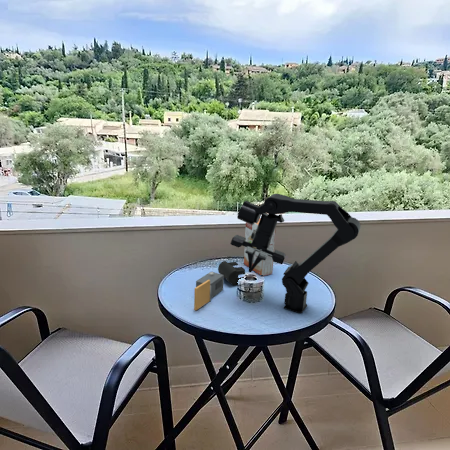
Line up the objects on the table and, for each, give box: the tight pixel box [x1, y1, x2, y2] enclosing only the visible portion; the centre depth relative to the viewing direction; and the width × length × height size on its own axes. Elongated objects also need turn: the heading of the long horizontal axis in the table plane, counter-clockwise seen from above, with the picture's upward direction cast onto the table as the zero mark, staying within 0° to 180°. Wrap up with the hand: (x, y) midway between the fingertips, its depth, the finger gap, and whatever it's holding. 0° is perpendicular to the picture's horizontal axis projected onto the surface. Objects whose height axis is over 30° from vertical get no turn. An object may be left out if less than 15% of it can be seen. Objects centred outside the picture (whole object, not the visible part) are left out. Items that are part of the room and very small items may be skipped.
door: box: [193, 280, 212, 311], centre depth 145 cm, size 9×1×8 cm, turn 148°
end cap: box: [217, 260, 246, 287], centre depth 165 cm, size 10×7×7 cm
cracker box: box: [243, 218, 277, 277], centre depth 174 cm, size 14×6×21 cm, turn 28°
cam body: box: [195, 271, 225, 299], centre depth 154 cm, size 6×10×7 cm, turn 150°
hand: (249, 271), depth 147 cm, fingers closed
